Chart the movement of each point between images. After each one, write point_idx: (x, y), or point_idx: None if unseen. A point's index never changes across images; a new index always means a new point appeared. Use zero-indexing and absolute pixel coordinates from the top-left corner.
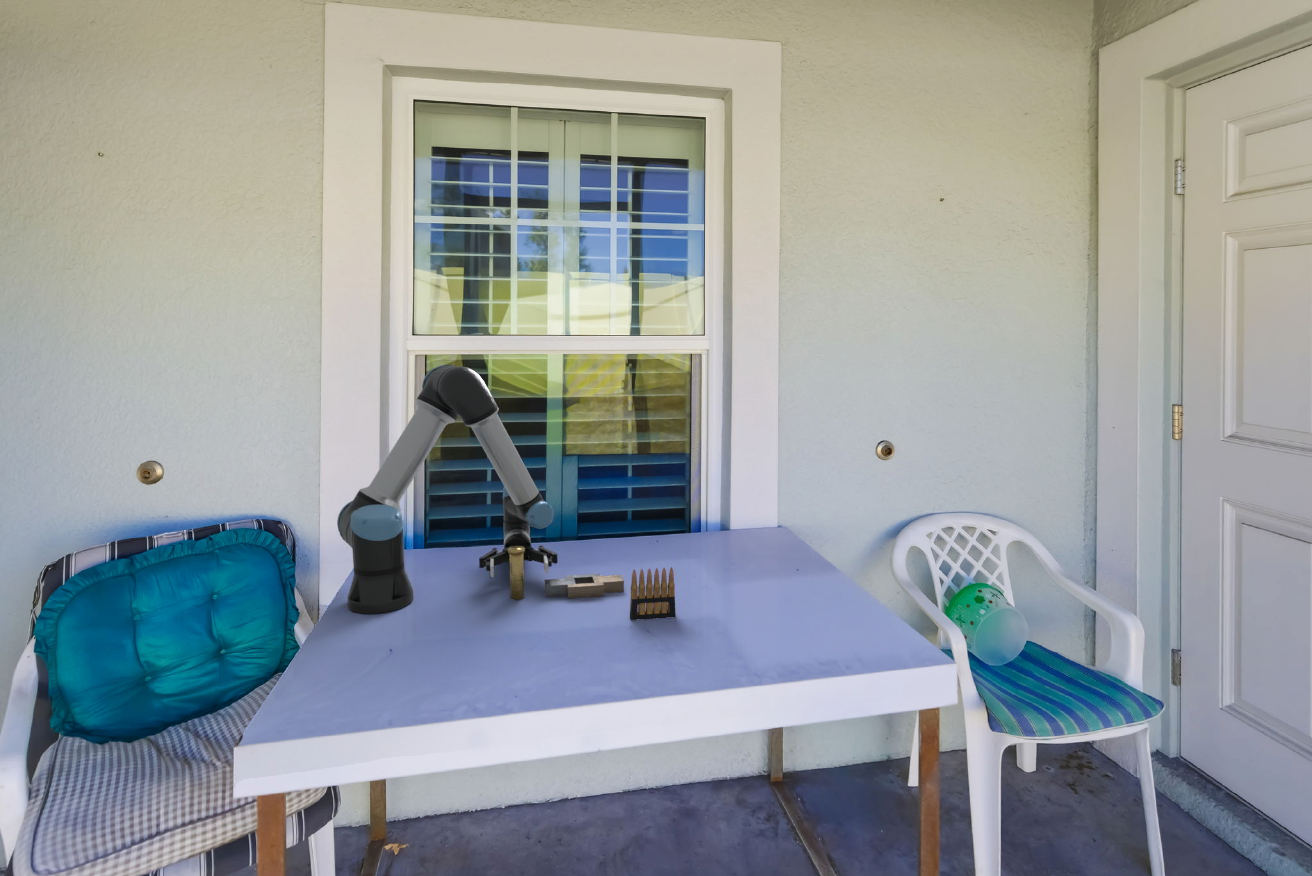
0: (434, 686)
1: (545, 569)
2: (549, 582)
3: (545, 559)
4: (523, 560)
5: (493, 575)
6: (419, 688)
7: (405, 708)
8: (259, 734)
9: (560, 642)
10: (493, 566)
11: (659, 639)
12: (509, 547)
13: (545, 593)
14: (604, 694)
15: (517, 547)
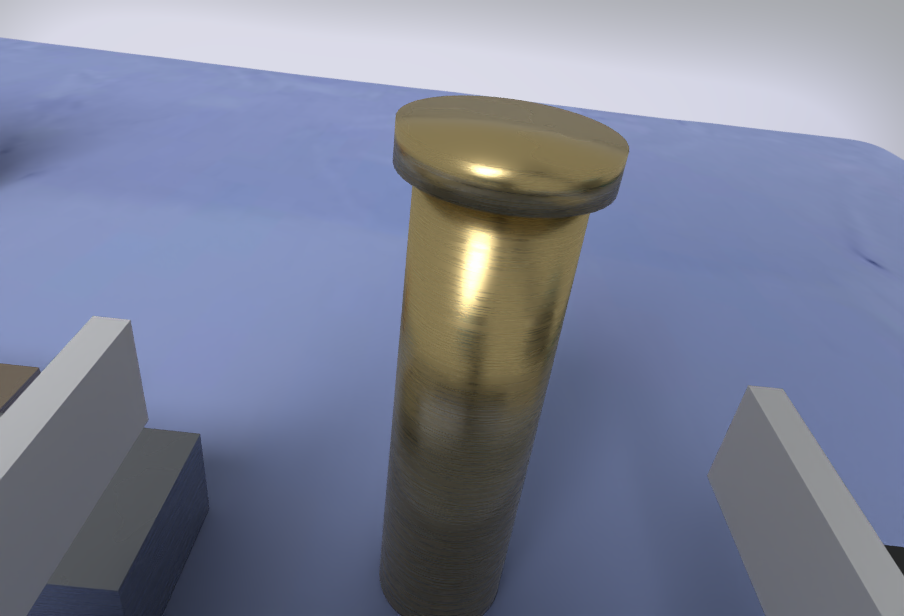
0: (646, 151)
1: (139, 383)
2: (116, 500)
3: (28, 422)
4: (406, 268)
5: (713, 463)
6: (676, 154)
7: (673, 132)
8: (878, 147)
9: (328, 177)
10: (777, 487)
11: (23, 126)
12: (615, 160)
13: (194, 521)
14: (311, 81)
15: (497, 137)
